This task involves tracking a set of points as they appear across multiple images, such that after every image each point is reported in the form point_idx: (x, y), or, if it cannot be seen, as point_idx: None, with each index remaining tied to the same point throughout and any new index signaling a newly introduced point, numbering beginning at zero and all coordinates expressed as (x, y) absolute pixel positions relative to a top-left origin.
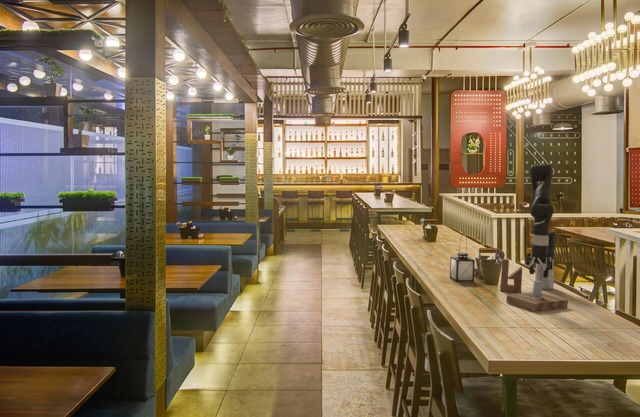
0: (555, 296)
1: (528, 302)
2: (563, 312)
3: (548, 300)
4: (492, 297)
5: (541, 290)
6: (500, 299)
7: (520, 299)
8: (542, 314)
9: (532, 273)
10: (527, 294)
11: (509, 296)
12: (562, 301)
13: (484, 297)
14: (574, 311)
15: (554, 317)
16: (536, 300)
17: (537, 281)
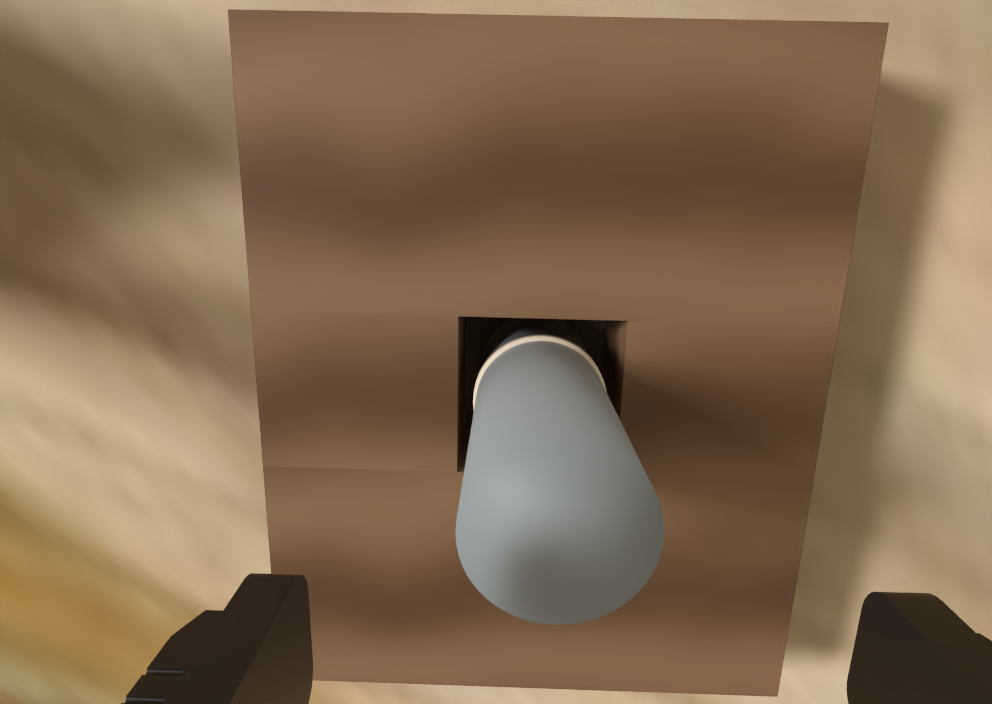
0: (621, 30)
1: (670, 687)
2: (920, 314)
3: (747, 383)
4: (67, 588)
5: (619, 419)
6: (172, 569)
7: (530, 685)
8: (839, 607)
9: (303, 642)
10: (350, 397)
11: (332, 671)
12: (857, 167)
13: (50, 668)
14: (975, 122)
15: (980, 581)
16: (667, 546)
17: (536, 521)
